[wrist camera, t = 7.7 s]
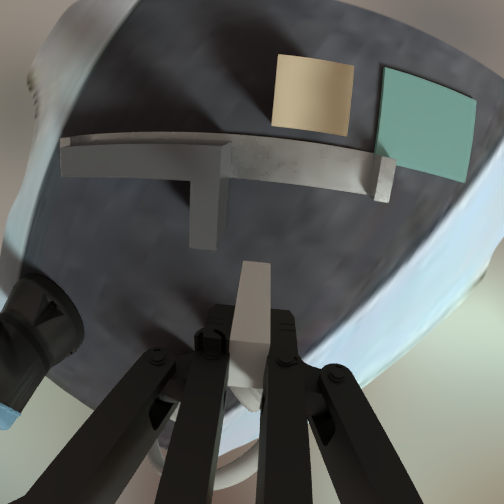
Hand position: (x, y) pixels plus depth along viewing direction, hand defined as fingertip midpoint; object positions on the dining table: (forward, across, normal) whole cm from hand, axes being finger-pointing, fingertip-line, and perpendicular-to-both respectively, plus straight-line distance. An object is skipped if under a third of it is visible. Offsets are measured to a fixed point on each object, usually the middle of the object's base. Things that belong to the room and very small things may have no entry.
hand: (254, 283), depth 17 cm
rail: (+15, -5, +5) cm, 17 cm away
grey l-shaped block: (+15, -11, +2) cm, 19 cm away
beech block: (+15, +3, +11) cm, 19 cm away
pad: (+15, +17, +12) cm, 25 cm away
